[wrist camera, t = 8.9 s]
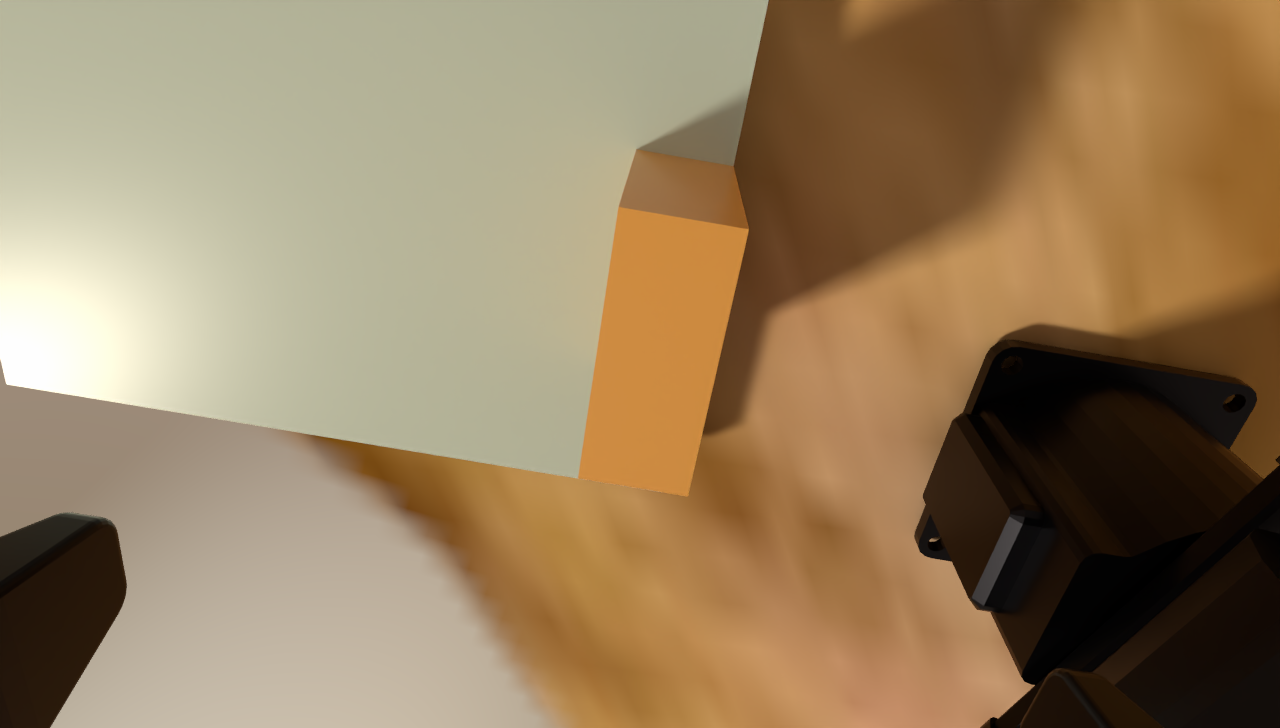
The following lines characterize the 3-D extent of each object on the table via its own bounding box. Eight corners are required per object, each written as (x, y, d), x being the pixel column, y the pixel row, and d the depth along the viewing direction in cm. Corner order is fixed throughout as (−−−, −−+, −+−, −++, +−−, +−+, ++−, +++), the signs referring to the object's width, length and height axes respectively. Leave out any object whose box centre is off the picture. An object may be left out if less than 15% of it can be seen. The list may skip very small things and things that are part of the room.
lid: (762, -8, 16) (802, -2, 10) (666, 453, 21) (658, 626, 15) (-40, -151, 16) (-453, -226, 10) (59, 353, 21) (-177, 492, 15)
